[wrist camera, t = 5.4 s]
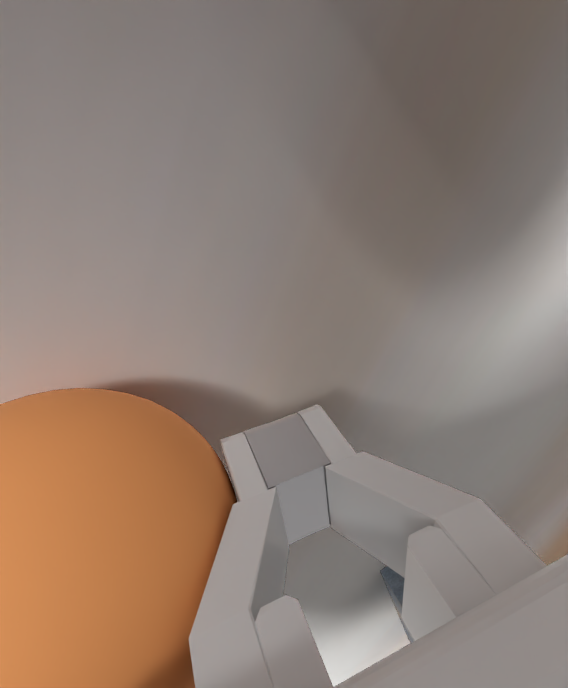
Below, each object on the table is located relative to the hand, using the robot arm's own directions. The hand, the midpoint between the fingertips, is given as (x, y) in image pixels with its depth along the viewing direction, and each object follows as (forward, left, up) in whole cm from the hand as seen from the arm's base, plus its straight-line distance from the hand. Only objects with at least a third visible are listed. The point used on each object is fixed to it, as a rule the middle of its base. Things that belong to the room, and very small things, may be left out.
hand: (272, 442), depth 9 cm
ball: (0, -4, +1) cm, 4 cm away
